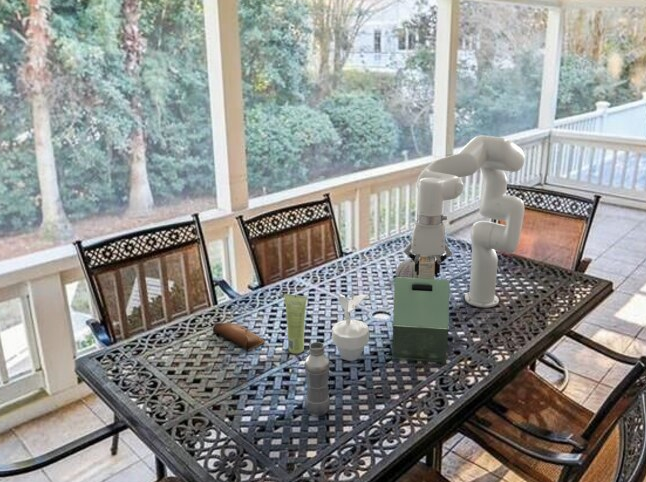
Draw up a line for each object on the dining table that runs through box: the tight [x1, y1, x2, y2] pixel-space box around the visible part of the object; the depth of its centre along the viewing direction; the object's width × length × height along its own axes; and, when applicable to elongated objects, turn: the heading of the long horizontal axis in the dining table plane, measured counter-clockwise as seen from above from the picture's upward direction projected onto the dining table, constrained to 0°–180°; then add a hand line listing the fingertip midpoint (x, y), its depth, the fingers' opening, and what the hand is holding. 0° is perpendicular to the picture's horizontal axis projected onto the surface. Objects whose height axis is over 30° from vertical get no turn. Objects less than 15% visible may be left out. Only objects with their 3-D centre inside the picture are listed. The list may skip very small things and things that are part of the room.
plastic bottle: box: [304, 341, 331, 417], centre depth 140 cm, size 6×7×20 cm
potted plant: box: [331, 289, 370, 362], centre depth 165 cm, size 13×12×25 cm
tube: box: [283, 293, 308, 355], centre depth 169 cm, size 6×5×20 cm
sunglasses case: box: [212, 322, 266, 352], centre depth 179 cm, size 18×7×7 cm
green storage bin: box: [391, 324, 449, 364], centre depth 170 cm, size 14×17×12 cm
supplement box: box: [419, 255, 436, 279], centre depth 167 cm, size 8×5×13 cm, turn 169°
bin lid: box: [392, 276, 451, 329], centre depth 160 cm, size 14×17×5 cm
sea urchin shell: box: [395, 259, 419, 278], centre depth 223 cm, size 13×14×8 cm
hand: (426, 273), depth 167 cm, fingers closed on supplement box, 5 cm apart
